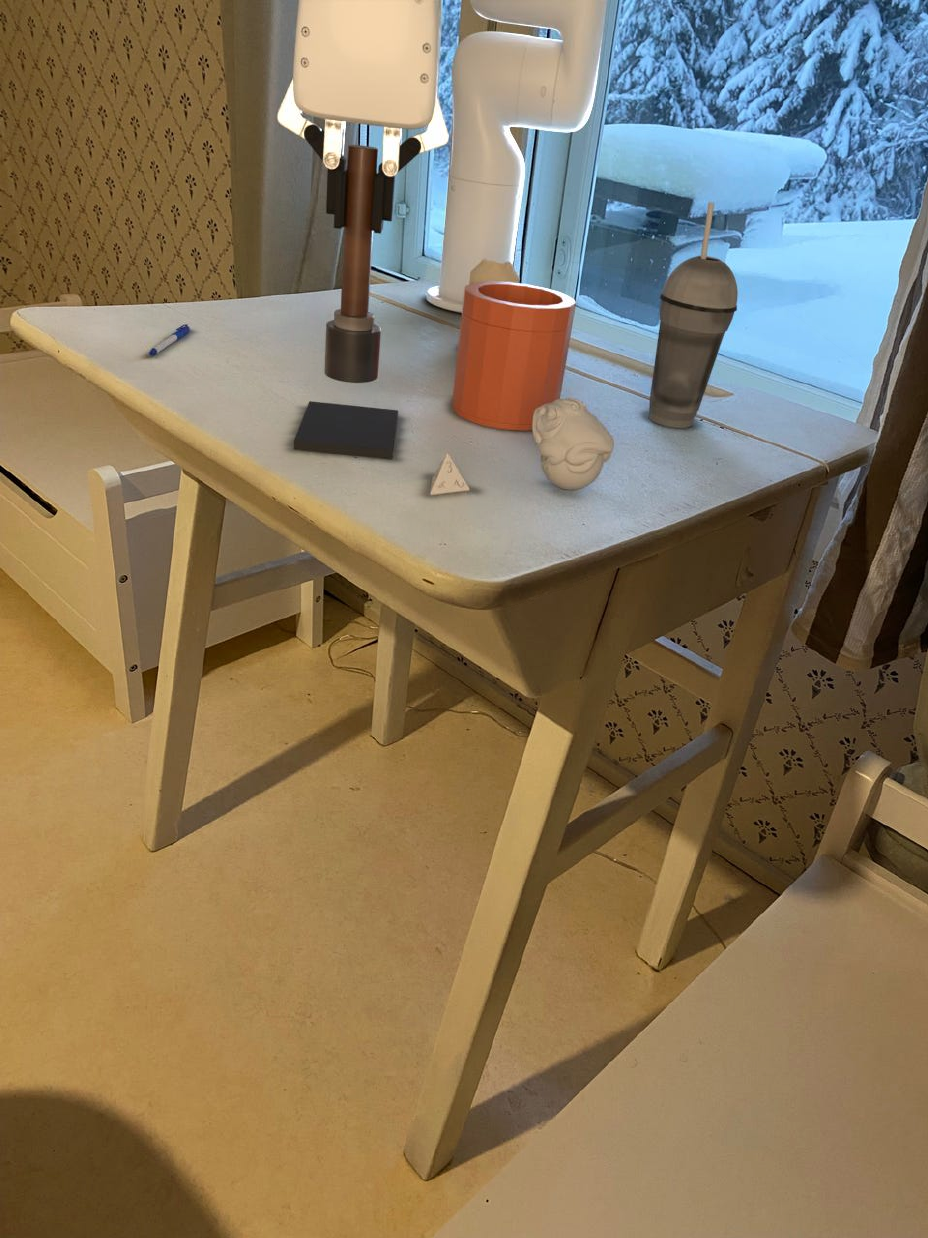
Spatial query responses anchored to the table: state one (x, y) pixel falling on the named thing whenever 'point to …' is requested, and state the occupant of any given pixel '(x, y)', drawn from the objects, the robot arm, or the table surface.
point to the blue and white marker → (170, 339)
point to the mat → (347, 430)
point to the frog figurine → (570, 443)
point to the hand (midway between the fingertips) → (358, 225)
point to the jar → (510, 352)
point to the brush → (355, 280)
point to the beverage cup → (690, 334)
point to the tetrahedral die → (448, 478)
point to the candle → (493, 272)
